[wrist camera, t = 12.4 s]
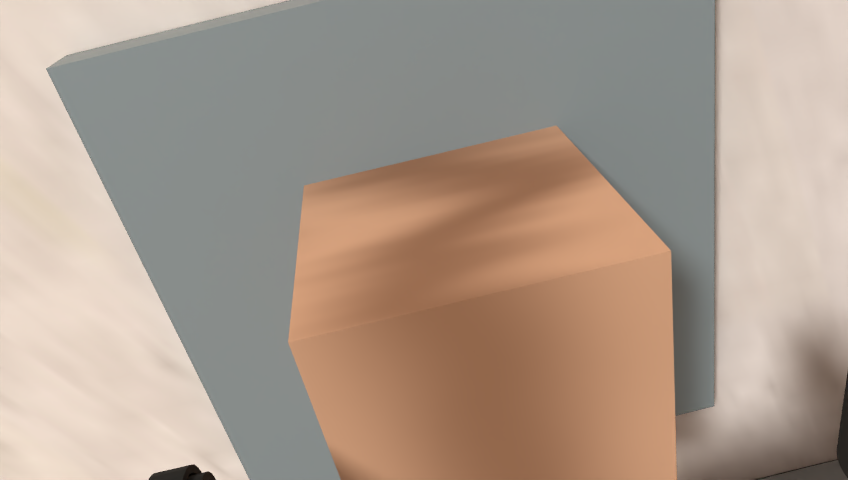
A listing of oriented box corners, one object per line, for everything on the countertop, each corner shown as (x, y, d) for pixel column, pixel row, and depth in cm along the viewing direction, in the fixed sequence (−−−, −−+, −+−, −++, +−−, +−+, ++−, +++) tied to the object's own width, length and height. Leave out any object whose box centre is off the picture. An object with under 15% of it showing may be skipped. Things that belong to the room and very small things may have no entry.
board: (687, -98, 15) (714, -97, 14) (695, 380, 21) (714, 406, 20) (66, 55, 15) (46, 69, 14) (271, 485, 21) (268, 516, 20)
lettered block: (556, 125, 15) (670, 251, 10) (580, 336, 18) (677, 517, 13) (303, 185, 15) (287, 342, 10) (368, 387, 18) (382, 588, 13)
